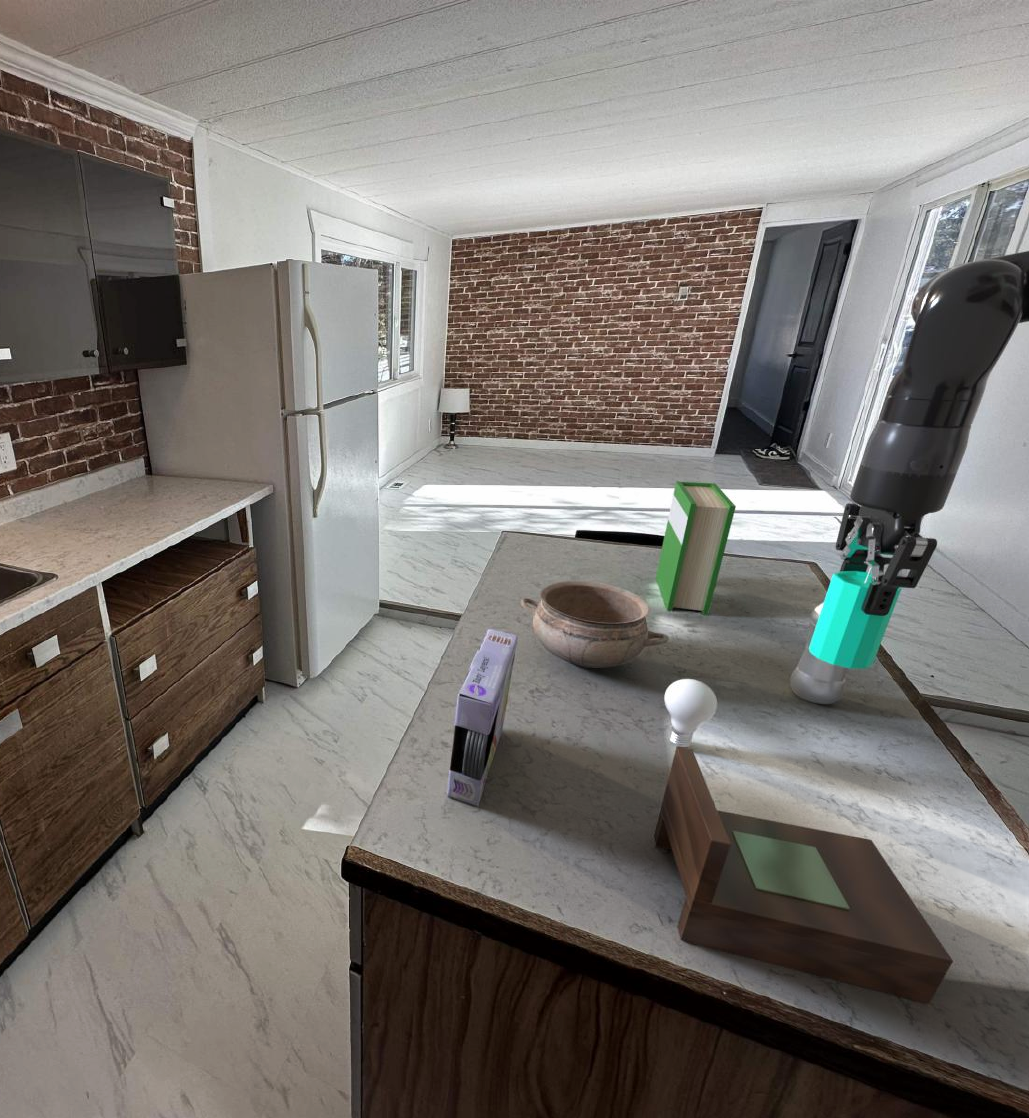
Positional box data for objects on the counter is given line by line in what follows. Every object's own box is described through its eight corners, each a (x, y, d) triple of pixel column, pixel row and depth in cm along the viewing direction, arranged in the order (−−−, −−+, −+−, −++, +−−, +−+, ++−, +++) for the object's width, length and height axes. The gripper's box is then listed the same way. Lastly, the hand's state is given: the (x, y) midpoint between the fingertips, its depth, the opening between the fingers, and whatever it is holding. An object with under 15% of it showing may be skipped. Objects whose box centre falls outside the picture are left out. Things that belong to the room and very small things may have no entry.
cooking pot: (497, 658, 113) (503, 600, 108) (534, 620, 126) (541, 567, 121) (645, 707, 97) (660, 642, 93) (670, 658, 110) (684, 599, 106)
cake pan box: (479, 815, 78) (492, 703, 72) (442, 802, 81) (450, 693, 74) (506, 730, 94) (518, 632, 87) (474, 721, 96) (483, 625, 89)
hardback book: (707, 615, 125) (735, 506, 116) (667, 610, 128) (691, 503, 119) (691, 582, 140) (715, 483, 131) (655, 578, 142) (676, 481, 133)
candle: (818, 664, 73) (849, 574, 68) (801, 640, 78) (828, 555, 73) (882, 672, 70) (918, 580, 66) (859, 647, 75) (891, 560, 71)
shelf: (854, 878, 67) (896, 782, 62) (929, 1004, 55) (990, 898, 50) (653, 836, 74) (676, 746, 69) (680, 940, 62) (711, 840, 57)
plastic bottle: (842, 714, 94) (885, 600, 86) (787, 701, 97) (824, 591, 90) (835, 693, 99) (875, 584, 91) (783, 682, 102) (818, 576, 95)
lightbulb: (652, 726, 93) (667, 666, 89) (701, 737, 90) (718, 675, 86) (656, 752, 88) (671, 689, 84) (707, 763, 85) (725, 699, 81)
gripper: (1000, 482, 57) (936, 634, 64) (915, 451, 70) (868, 581, 76) (900, 478, 60) (848, 625, 66) (835, 449, 72) (796, 575, 79)
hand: (859, 601), depth 71 cm, fingers closed on candle, 6 cm apart
